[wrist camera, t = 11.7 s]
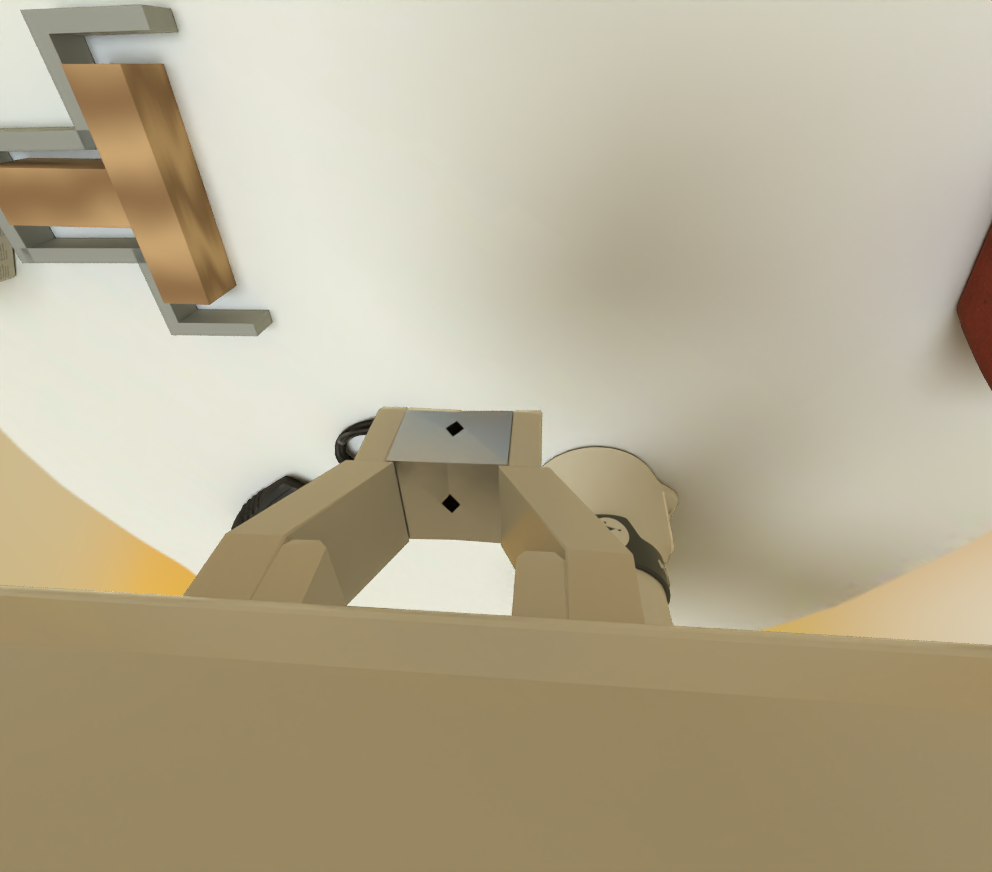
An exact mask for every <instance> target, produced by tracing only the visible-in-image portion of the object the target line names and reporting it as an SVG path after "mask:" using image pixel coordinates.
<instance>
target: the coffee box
mask: <svg viewBox="0 0 992 872" xmlns="http://www.w3.org/2000/svg"><path fill="white" fill-rule="evenodd" d="M14 276H15V269H14V259H13V250H12V245H11V244H10V242H9V240H8V239H7V237H6V235H5V234H4V232H3V230H2V229H1V227H0V282H1V281H4V280H7V279H9V278H12V277H14Z"/></svg>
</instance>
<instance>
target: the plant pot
mask: <svg viewBox="0 0 992 872" xmlns="http://www.w3.org/2000/svg"><path fill="white" fill-rule="evenodd" d="M957 313H958V316H959V320H960V323H961V327H962V330H963V332H964V335H965V337H966V339H967V342H968V344H969V346H970V349H971V351H972V353H973V355H974V357H975V360H976V362H977V364H978V366H979V368H980V370H981V372H982V374H983V376H984V378H985V380H986V381H987V383H988V385H989V387H990V388H991V390H992V226H991V229H990V231H989V233H988V236H987V238H986V240H985V243H984V245H983V247H982V250H981V253H980V255H979V257H978V259H977V261H976V264H975V266H974V269H973V271H972V274H971V276H970V278H969V280H968V283H967V285H966V288H965V290H964V292H963V295H962V297H961V299H960V302H959V304H958V307H957Z"/></svg>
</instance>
